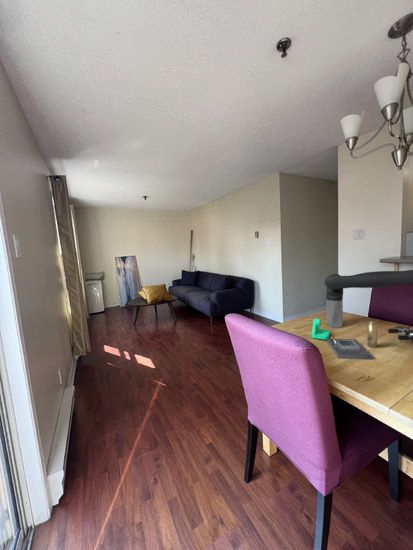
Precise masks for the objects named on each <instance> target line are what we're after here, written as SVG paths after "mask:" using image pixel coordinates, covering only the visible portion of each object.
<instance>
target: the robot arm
mask: <svg viewBox="0 0 413 550" xmlns="http://www.w3.org/2000/svg"><path fill="white" fill-rule="evenodd" d="M403 285H408V286H409V285H412V286H413V269H408V270H383V271H382V270H380V271H367V272H362V273H357V274H352V275H340V274H338V273H332V274H330V275H328V276H327V277H326V279H325V280H324V286H325V287H326V295H325V300H326V301H325V303H326V305H325V306H326V309H325V312H326V316H325V318H326V323H325V324H326V326H328V327H330V328H334V329H335V328H336V329H339V328H342V327H343V326H344V325H343V323H344V322H343V321H344V313H343V311H344V309H343V307H344V305H343V304H344V302H343V299H344V289H350V288H351V289H352V288H353V289H355V288H356V289H374V288H375V289H378V288H388V287H389V288H390V287H398V286H403ZM387 333H388V334H398V335H397V339H398V340H399V341H409V342H411V343H413V328H411V327H410V326H396V327H395V328H388V329H387Z"/></svg>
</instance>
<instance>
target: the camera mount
mask: <svg viewBox="0 0 413 550" xmlns="http://www.w3.org/2000/svg"><path fill="white" fill-rule="evenodd" d="M321 321H322V320H321V319H320V318H313V321H312V329H311V330H312V331H311V338H313V339H317V340H318V339H320V340H326V341H327V339H330V334H331V330H330V329H325V328H321V324H322V322H321Z"/></svg>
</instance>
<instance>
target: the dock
mask: <svg viewBox="0 0 413 550" xmlns="http://www.w3.org/2000/svg"><path fill="white" fill-rule="evenodd" d="M326 344H328V346H329V348H331V350H332V352H333V353H334V354H335V355H336V357H337V358H338V359H348V360H349V359H350V360H373V354H372V353H371V352H370V351H368V349H367V348H365V346H364V345H362V344H361V343H360V342H359V341H358V340H357V339H356V338H355V339H353V338H335V337H334V336H330V337H329V338H328V339H327V340H326Z"/></svg>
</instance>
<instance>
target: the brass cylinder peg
mask: <svg viewBox="0 0 413 550" xmlns="http://www.w3.org/2000/svg"><path fill="white" fill-rule="evenodd" d="M366 335H367V336H366V337H367V339H366V341H367V343H366V345H367V347H368V348H370V349H371V348H372V349H377V348H378V323H377V322H376V321H374V320H369V321H368V322H367V334H366Z"/></svg>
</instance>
